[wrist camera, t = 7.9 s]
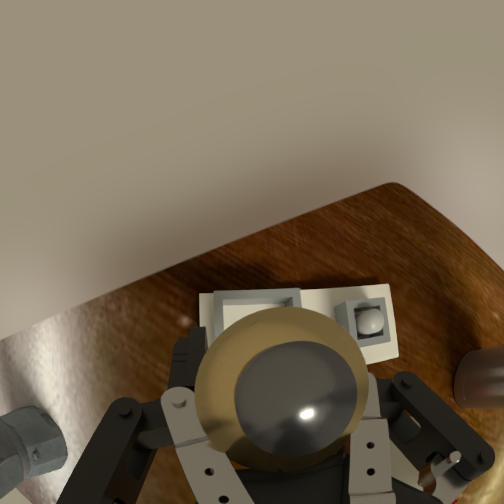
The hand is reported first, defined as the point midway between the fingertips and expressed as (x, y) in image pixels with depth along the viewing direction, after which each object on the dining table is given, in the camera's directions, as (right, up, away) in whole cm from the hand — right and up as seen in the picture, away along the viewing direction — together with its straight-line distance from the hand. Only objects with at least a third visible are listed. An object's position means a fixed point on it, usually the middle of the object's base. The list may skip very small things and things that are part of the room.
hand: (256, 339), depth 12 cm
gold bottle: (0, -3, +3) cm, 5 cm away
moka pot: (-26, -19, +6) cm, 33 cm away
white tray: (+6, -5, +16) cm, 17 cm away
